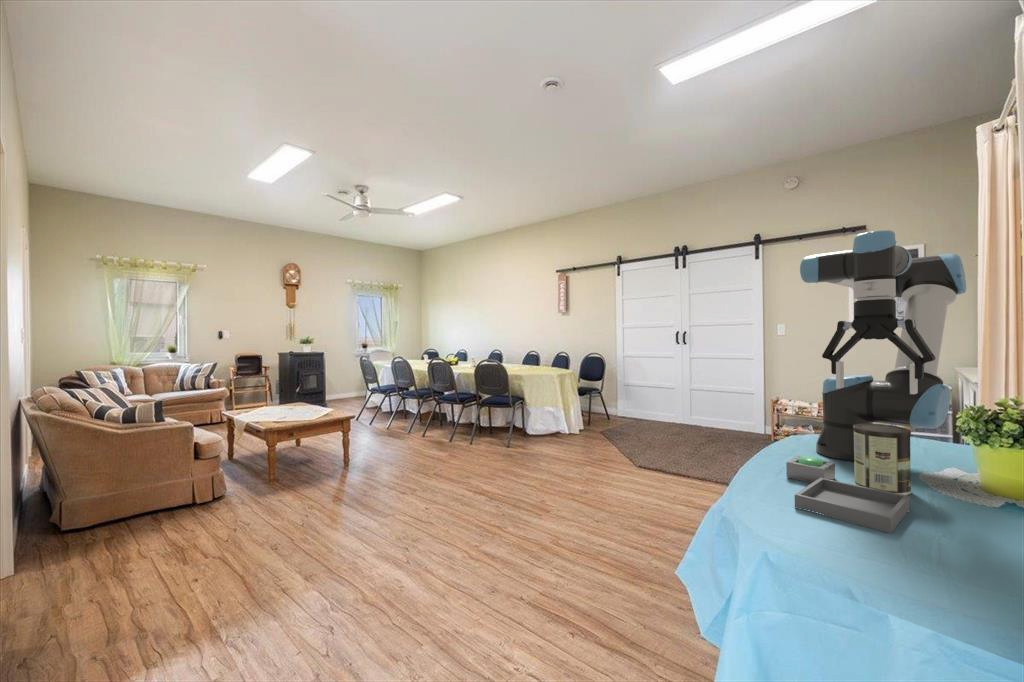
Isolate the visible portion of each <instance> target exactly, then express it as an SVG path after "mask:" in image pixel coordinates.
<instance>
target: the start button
mask: <svg viewBox="0 0 1024 682" xmlns="http://www.w3.org/2000/svg"><path fill="white" fill-rule="evenodd" d="M801 456H802V457H799V463H801V464H807V465H812V466H817V467H821V466H822V465H823V460H824V459H821V458H818V457H815V456H808V455H807V456H806V455H805V456H803V455H801Z"/></svg>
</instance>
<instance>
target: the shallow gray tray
mask: <svg viewBox="0 0 1024 682" xmlns="http://www.w3.org/2000/svg"><path fill="white" fill-rule="evenodd" d="M910 497H911V496H910V495H906V496H905V495H901V494H896V493H891V492H886V491H882V490H877V489H872V488H867V487H863V486H858V485H855V484H854V483H853V484H852V483H847V482H843V481H837V480H835V479H833V480H829V479H825V478H819V479H817V480H816V481H814V482H813V483H810V484H808V485H807V486H805V487H804V488H802V489H801V490H799V491H798V492H796V493H795V494H794V508H795V507H797V508H796V509H798V508H801V509H800V510H802V509H806V510H810V511H814V512H818V513H821V514H824V515H827V516H826V517H828V516H830V517H829V518H831V517H834V518H833V519H835V518H836V520H839V521H843V522H846V523H851V524H855V525H859V526H863V527H866V528H869V529H873V530H877V531H881V532H883V533H889V534H892V533H893V531H894V530H895V529H896V528H897V527H898V525H899V524H900V523H901V522H902V520H903V519H904V518H905V517H904V516H907V514H908V513H907V512H908V511H909V512H910V511H911V509H910V508H911V507H910V506H911V505H910V504H911V498H910ZM824 515H823V516H824ZM903 517H904V518H903ZM900 521H901V522H900ZM899 522H900V523H899ZM896 526H897V527H896Z"/></svg>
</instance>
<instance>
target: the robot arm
mask: <svg viewBox="0 0 1024 682" xmlns="http://www.w3.org/2000/svg"><path fill="white" fill-rule="evenodd" d="M897 242H898V241H897V240H896V234H895V231H893V230H891V229H890V230H889V229H885V230H883V229H881V230H873V231H872V230H871V231H867V232H862V233H859V234H857V235H856V236H855V237H854V238H853V246H852V249H850V250H842V251H834V252H827V253H820V254H819V253H816V254H812V255H807V256H805V257H803V258H802V260H801V261H800V266H799V273H800V277H801V280H802V281H803V282H804V283H807V284H811V283H812V284H814V283H815V284H818V283H829V284H834V285H839V286H842V287H848V288H851V289H852V290H853V298H854V299H855V301H854V302H853V320H852V321H846V320H839V321H838V322H837V325H836V331H835V332H834V335H833V336H832V337H831V338H830V339H831V340H830V341H829V343H828V344H827V346H826V348H825V349H824V351H823V352H822V355H821V357H822V358H823V359H826V360H829V361H830V362H831V364H830V365H831V368H830V369H831V370H830V371H831V374H832V375H835V376H830V377H826V378H825V379H824V381H823V383H822V392H821V394H822V428H821V431H820V432H819V435H818V438H817V440H816V443H815V450H816V452H817V453H818V454H820V455H822V456H825V457H829V458H833V459H837V460H843V461H849V462H850V461H851V462H852V461H853V462H854V429H853V425H856V424H874V423H876V424H884V425H892V426H899V427H901V426H902V427H908V428H909V427H910V428H914V429H930V430H932V429H937V428H939V427H940V426H942V425H943V424H944V422H945V420H946V418H947V416H948V413H949V410H950V406H951V395H952V394H951V389H950V387H949V386H948V385H946V384H944V380H943V379H942V377H940V376H939V375H938V369H939V368H938V367H939V362H940V356H941V355H940V354H941V347H942V344H943V343H942V341H943V335H944V330H945V322H946V316H947V311H948V306H949V305H951V304H952V303H954V302H955V301H956V299H957V295H961V294H965V293H966V292H967V281H966V273H965V269H964V265H963V261H962V260H963V259H962V258H961V256H959V255H958V254H955V253H947V254H937V255H932V256H931V255H930V256H920V257H912V255H911V253H910V252H909V251H908V250H907V249H906V248H905V247H903V246H902V245H901V246H900V245H898V244H897ZM896 244H897V245H896ZM893 298H901V299H902V301H903V302H904V303H905V304H906V307H905V312H904V316H903V320H898V319H897V301H896V300H895V299H893ZM898 327H901V332H900V336H899V335H898V334H897V333H896V332H895V330H896V329H897V328H898ZM851 328H852V329H853V331H855V333H854V334H852V336H850V338H849V339H848V340H847V341H846V342H845V343H844V344H843V345H842V346H841V347H840V348H839V349H838V350H837V351H836V349H837V347H838V346H839V344H840V342H841V340H842V339H843V337H844V335H845V334H846V331H849V330H850V329H851ZM862 339H863V340H873V339H874V340H886V339H887V340H888V341H889V342H890V343H892V344H893V345H894V346H895V347H896V348H897V355H896V359H895V364H894V369H892V370H890V371H888V372H887V373H886V374H885V378H884V380H875V378H874V376H872V374H854V375H851V374H850V375H845V373H844V372H845V371H844V367H845V366H844V364H845V363H844V360H841V359H842V358H843V357H844V356H845V355H846V354H847V353H848V352H849V351H850V350H851V349H852V348H853V347H855V346H856V345H857V344H858V343H859V342H860V341H861V340H862ZM835 351H836V352H835Z"/></svg>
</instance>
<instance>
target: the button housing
mask: <svg viewBox="0 0 1024 682" xmlns="http://www.w3.org/2000/svg"><path fill="white" fill-rule="evenodd" d="M802 456H803V455H798V456H794V457H793V458H791V459H790V460H788V461H786V462H785V464H786V465H785V466H786V478H787V477H788V478H787V479H790V478H792V479H791V480H795V479H796V480H795V481H799V480H800V481H799V482H804V481H805V482H804V483H808V482H809V483H810V484H811V483H813V482H814V481H816V480H817V479H819V478H825V479H829V480H835V479H836V462H835V461H830V460H825V459H822V460H823V465H822V466H821V467H817V466H812V465H807V464H801V463H799V457H802Z"/></svg>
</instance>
